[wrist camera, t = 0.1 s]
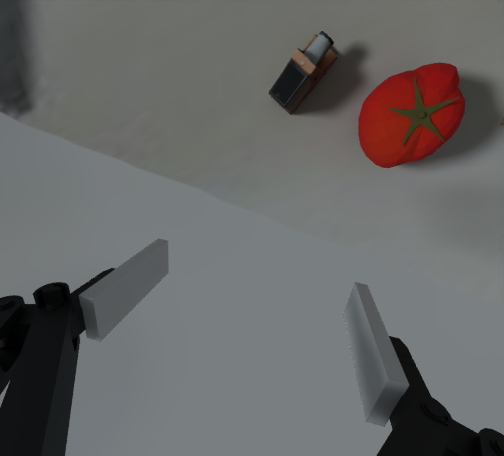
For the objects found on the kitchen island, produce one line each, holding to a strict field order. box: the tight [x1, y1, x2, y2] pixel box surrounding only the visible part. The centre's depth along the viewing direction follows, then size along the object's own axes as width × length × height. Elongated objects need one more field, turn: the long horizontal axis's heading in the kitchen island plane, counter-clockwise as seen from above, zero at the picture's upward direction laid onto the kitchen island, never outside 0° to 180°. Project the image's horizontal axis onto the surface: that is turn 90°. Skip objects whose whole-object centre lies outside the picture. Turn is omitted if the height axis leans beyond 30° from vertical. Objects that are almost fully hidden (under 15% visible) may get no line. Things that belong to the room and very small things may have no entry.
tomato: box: [359, 63, 465, 168], centre depth 30 cm, size 11×13×10 cm
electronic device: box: [269, 31, 338, 115], centre depth 32 cm, size 4×10×8 cm, turn 140°
